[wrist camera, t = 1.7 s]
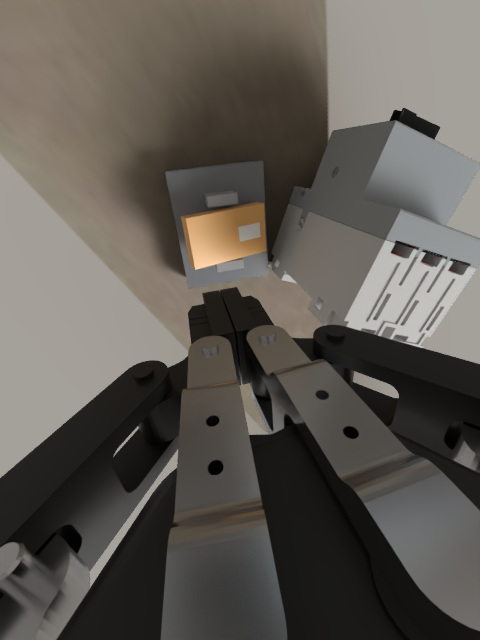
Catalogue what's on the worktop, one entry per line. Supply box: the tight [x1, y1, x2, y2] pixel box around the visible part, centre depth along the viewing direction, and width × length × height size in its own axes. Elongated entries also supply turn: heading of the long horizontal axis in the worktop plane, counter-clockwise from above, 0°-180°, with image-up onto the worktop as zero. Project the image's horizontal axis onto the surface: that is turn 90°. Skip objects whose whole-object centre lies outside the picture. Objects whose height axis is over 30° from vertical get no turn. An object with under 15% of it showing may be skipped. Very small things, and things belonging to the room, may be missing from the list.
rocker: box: [181, 202, 266, 270], centre depth 24 cm, size 4×7×2 cm, turn 96°
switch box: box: [165, 161, 268, 289], centre depth 26 cm, size 10×8×5 cm
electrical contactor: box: [268, 108, 480, 348], centre depth 23 cm, size 8×14×15 cm, turn 164°
